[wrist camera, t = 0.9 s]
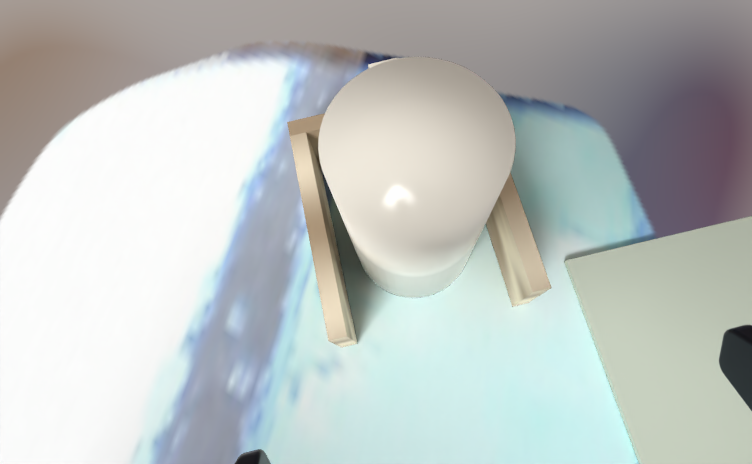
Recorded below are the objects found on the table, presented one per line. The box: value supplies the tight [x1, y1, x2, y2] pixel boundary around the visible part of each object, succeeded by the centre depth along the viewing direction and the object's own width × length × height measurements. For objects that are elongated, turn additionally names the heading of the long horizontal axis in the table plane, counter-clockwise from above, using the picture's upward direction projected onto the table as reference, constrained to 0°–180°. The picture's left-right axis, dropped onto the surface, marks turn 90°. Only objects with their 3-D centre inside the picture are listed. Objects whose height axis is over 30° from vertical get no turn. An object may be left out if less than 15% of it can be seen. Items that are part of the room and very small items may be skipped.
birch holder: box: [287, 113, 551, 347], centre depth 23 cm, size 11×10×4 cm
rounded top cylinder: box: [318, 57, 516, 298], centre depth 20 cm, size 8×6×11 cm
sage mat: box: [564, 216, 752, 464], centre depth 22 cm, size 11×11×1 cm
